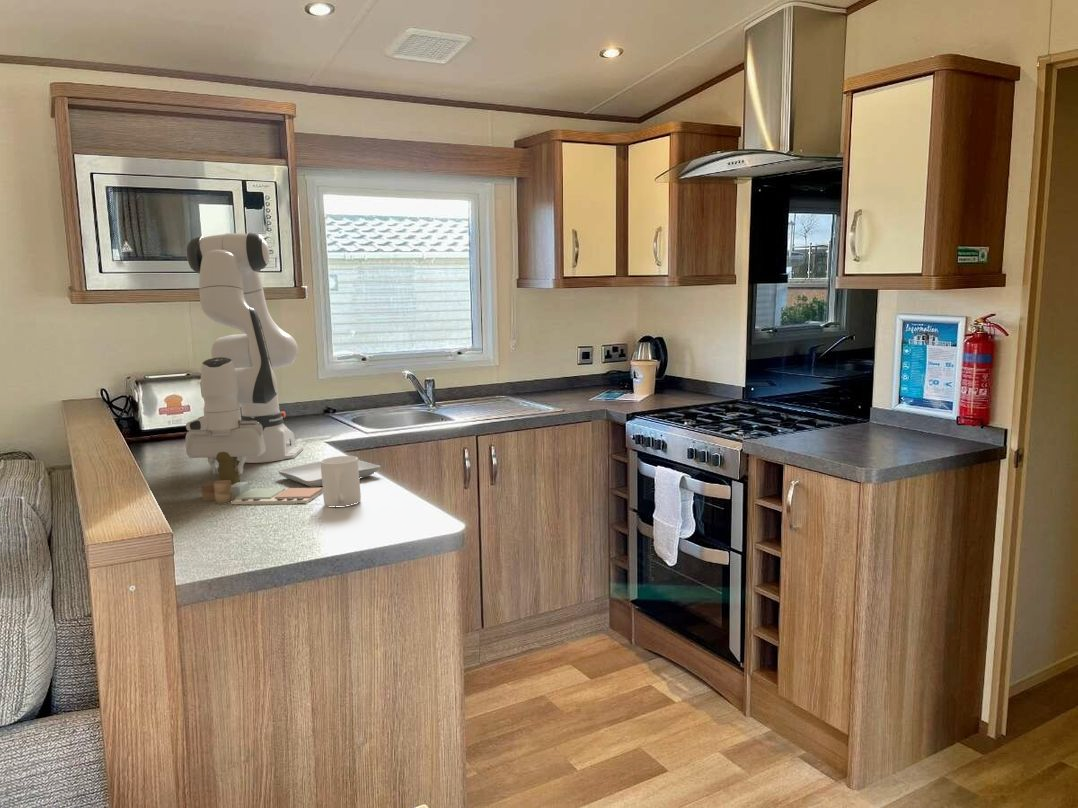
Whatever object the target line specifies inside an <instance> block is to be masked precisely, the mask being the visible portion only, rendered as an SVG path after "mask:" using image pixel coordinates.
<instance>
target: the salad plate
mask: <svg viewBox="0 0 1078 808" xmlns="http://www.w3.org/2000/svg"><path fill="white" fill-rule="evenodd" d="M320 462H321V460H320V461H317V462H316V461H315V462H311V463H306V464H300V465H296V466H291V467H287V468H286V467H285V468H282V469H281V468H280V469H278V470H277V473H279V475H281V476H282V477H284V478H285V479H288V480H290V481H294V482H297V483H300V484H302V485H304V484H305V485H304V486H308V487H309V488H321V487H320V486H322V474H321V463H320ZM358 468H359V478H360V477H365V476H366V477H369V476H372V475H373V474H375V473H376V472H378V471H379V470H380V468H381V465H379V464H375V463H371V462H367V461H363V460H359V459H358ZM374 472H375V473H374ZM366 477H365V478H366Z"/></svg>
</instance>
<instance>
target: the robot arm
mask: <svg viewBox="0 0 1078 808" xmlns="http://www.w3.org/2000/svg"><path fill="white" fill-rule="evenodd" d="M270 254H271V253H270V247H269V245H268V243H267V240H266V239H265V237H264V236H262V235H261V234H259V233H253V232H247V233H239V232H232V233H230V232H229V233H224V234H214V235H213V234H212V235H209V236H203V235H202V236H198V237H195V238H194V237H193V238H191V239H190V241H189V242H188V244H187V245H186V258H187V261H188V265H189V267H190V269H192V271H193V272H195V273H196V274H199V277H198V278H199V284H198V285H199V287H198V288H199V299H200V306H201V309H202V312H203V313H204V314H205V315H206V316H207V317H208V318H209V319H210V320H212V321H214V322H215V323H218V324H220V325H223V326H227V327H230V328H234V329H235V330H239V331H241V332H243V333H240V334H238V333H237V334H229V335H224V336H221V337H218V338H216V339H215V341H213V344H212V345H211V349H210V353H211V358H208V359H206V360H204V361H203V362H201V368H200V383H199V384H200V386H199V387H200V393H201V397H202V399H203V402H204V403H203V405H204V406H203V416H199V417H198V418H195V419H193V420H190V421H188V422H186V424H185V429H186V430H187V432H186V435H185V452H186V455H187V456H188V458H190V459H193V458H194V459H196V458H197V459H199V458H201V459H204V458H206V459H207V462H208V464H209V465H210V467H211V468H212V471H213V472H212V473H213V475H219V463H218V462H217V459H216V456H217V454H218V453H219V452H227V453H228V454H229V455H230V456H231V457H237V460H236V461H238V465H237V466H236V467H234V469H235V473H236V474H239V475H240V474H243V473H244V465H245V463H246V464H247V463H250V464H254V463H255V464H259V463H260V464H261V463H271V462H277V461H282V460H287V459H295V458H296V457H297V456H298V455H299V454H300V453H301V452H302V451H303V450H304V447H303V446H302V445H301V446H300V445H296V439H295V435H294V432H293V431H292V430H290V429H289V428H288V427H287V425H285V424H284V419H285V418H286V415H287V414H286V412H285V411H280V404H279V403H280V402H279V391H278V390H279V386H278V385H279V384H278V379H277V376H276V374H275V372H274V369H281V368H284V367H289V366H292V365H293V364H294V363H295V361H296V360H297V358H298V355H299V347H298V343H297V341H296V340H295V338H294V337H293V336H292V335H291V334H289V333H287V332H286V331H284V330H283V329H282V328H281V327H280V326H278V325H277V323H276V322H275V321H274V319H273V318H272V316H271V314H270V312H269V309H268V305H267V301H266V297H265V292H264V288H263V287H264V286H263V282H262V278H261V277H262V276H261V274H260V272H261V270H263V269H265V268H266V267H267V266H268V265H269V260H270ZM283 418H284V419H283Z"/></svg>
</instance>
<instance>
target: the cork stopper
mask: <svg viewBox="0 0 1078 808" xmlns="http://www.w3.org/2000/svg"><path fill="white" fill-rule="evenodd" d="M215 481H216V482H214V492H215V500H214V503H215V504H216V505H223V503H226V504H229V503H228V502H230V503H231V501H233V500H234V498H232V486H231V481H230V480H221V481H218V480H215Z"/></svg>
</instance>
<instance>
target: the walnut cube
mask: <svg viewBox="0 0 1078 808" xmlns="http://www.w3.org/2000/svg"><path fill="white" fill-rule="evenodd" d="M216 481H217V480H211V481H210V480H209V481H205V482H203V483H202V484H201V485H200V489H201V496H202V498H201V499H202V501H203V502H204V501H215V492H214V482H216Z"/></svg>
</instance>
